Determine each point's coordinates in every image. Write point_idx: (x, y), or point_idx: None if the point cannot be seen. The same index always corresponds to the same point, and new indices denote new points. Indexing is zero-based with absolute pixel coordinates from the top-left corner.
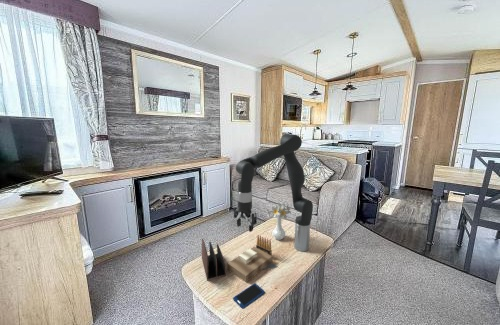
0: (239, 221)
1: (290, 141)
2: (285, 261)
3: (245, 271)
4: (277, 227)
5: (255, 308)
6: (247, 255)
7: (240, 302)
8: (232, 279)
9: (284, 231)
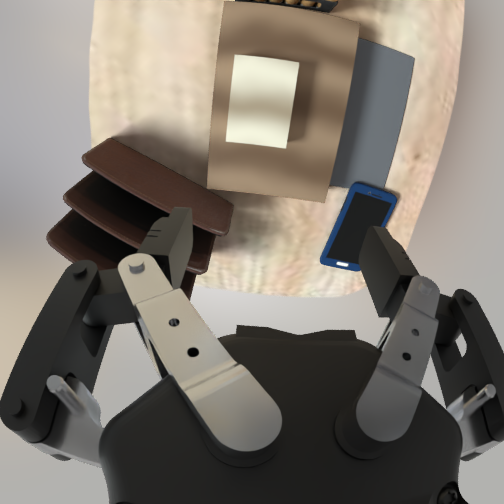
0: (177, 264)
1: None
2: (392, 2)
3: (310, 184)
4: None
5: None
6: (267, 113)
7: (347, 263)
8: (265, 202)
9: None
